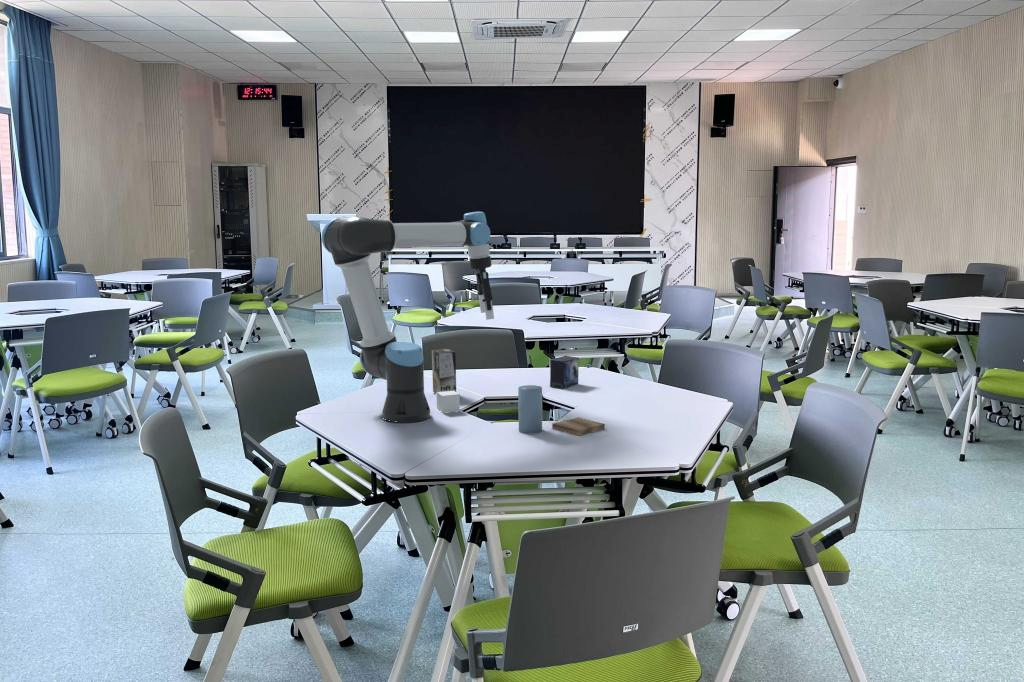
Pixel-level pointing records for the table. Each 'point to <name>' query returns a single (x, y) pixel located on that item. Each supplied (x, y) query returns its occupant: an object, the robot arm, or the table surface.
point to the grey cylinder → (530, 409)
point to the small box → (564, 372)
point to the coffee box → (444, 370)
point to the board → (578, 426)
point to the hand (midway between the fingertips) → (487, 315)
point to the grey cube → (448, 401)
